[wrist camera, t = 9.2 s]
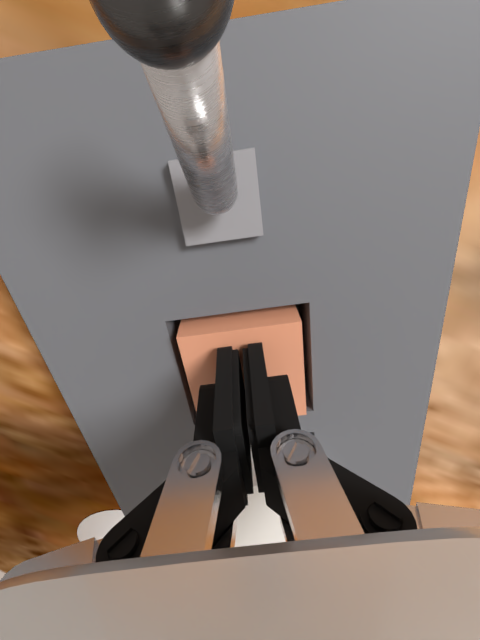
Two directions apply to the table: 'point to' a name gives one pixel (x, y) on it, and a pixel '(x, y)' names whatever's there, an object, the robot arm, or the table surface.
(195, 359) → the button terracotta
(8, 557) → the table surface
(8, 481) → the table surface
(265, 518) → the button white
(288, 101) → the panel
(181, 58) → the toggle lever
